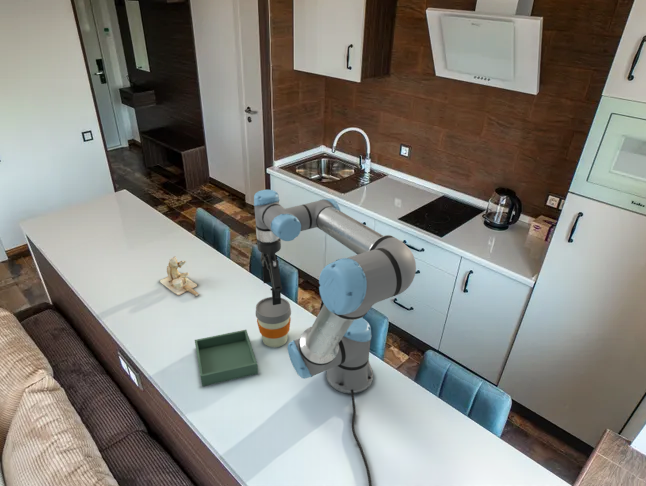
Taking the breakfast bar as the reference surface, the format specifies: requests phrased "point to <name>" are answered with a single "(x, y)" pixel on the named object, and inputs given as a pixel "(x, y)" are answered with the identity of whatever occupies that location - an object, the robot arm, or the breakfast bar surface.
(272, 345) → the reusable coffee cup
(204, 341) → the green square tray
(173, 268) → the wooden toy
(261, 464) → the breakfast bar surface
